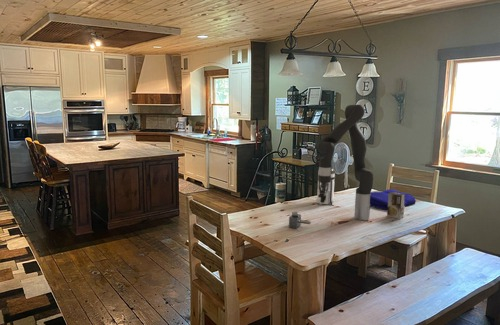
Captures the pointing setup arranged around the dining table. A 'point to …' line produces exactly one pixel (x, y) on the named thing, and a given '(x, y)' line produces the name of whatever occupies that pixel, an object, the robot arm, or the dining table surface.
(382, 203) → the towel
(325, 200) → the lock block
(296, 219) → the stubby hammer
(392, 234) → the dining table surface
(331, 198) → the coffee press
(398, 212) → the coffee box
